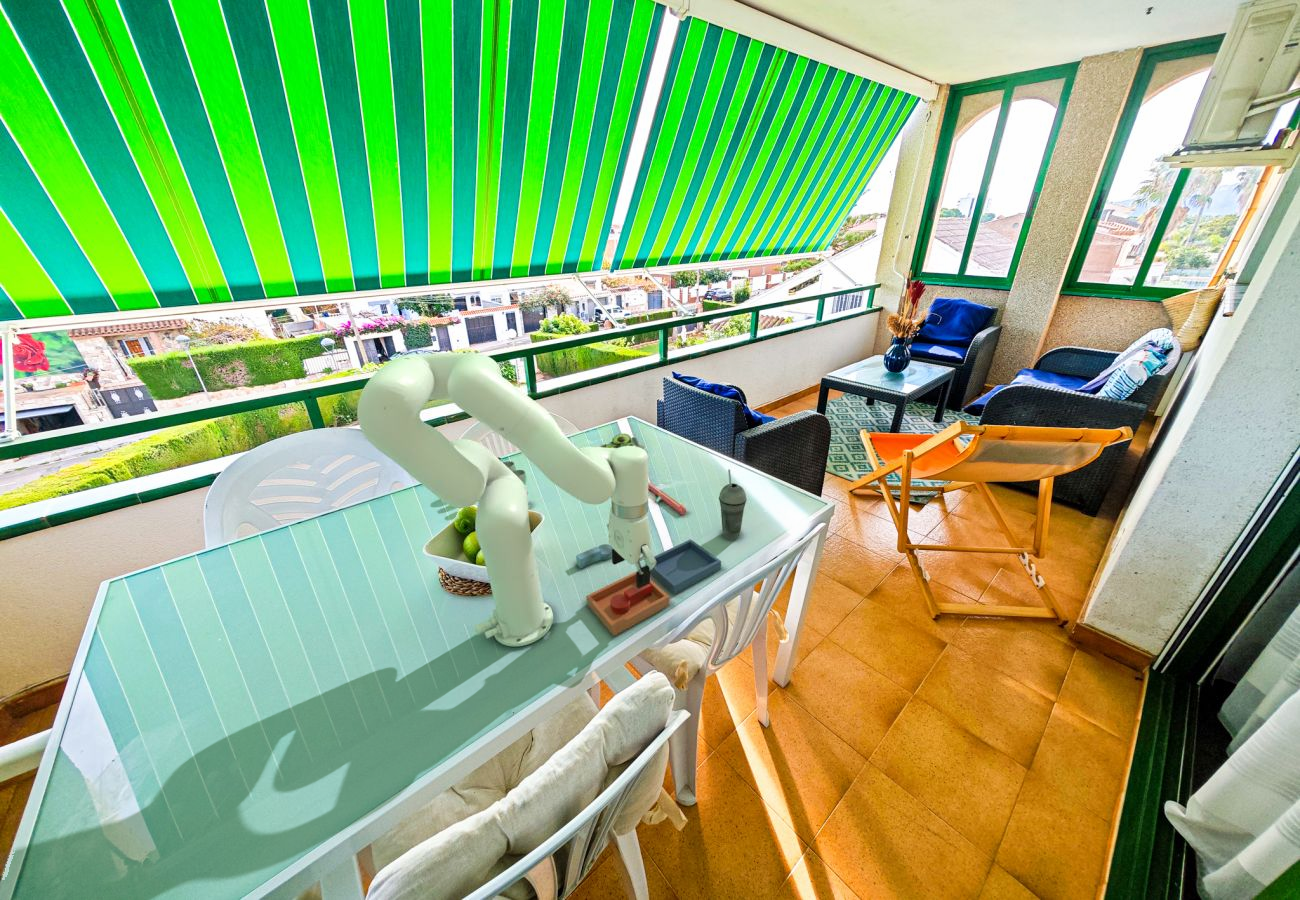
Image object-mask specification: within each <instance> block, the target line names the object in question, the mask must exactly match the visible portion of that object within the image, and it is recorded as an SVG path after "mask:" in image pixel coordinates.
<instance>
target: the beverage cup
mask: <svg viewBox="0 0 1300 900" xmlns="http://www.w3.org/2000/svg"><path fill="white" fill-rule="evenodd" d="M727 475H728V482H729V483H728V484H725V485H724V486H723V487H722V488H721V490H720V492H719V496H718V501H719V506H720V517H721V530H722V536H723V538H725V539H727V540H732V541H733V540H738V539H739V538H740V535H741V532H742V524H743V518H744V510H745V506H746V504H747V500H748V498H747V495H746V491H745V489H744V488H743V487H742V486H741V485H740V484H737V483H732V474H731V469H729V468H728V469H727Z"/></svg>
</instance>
